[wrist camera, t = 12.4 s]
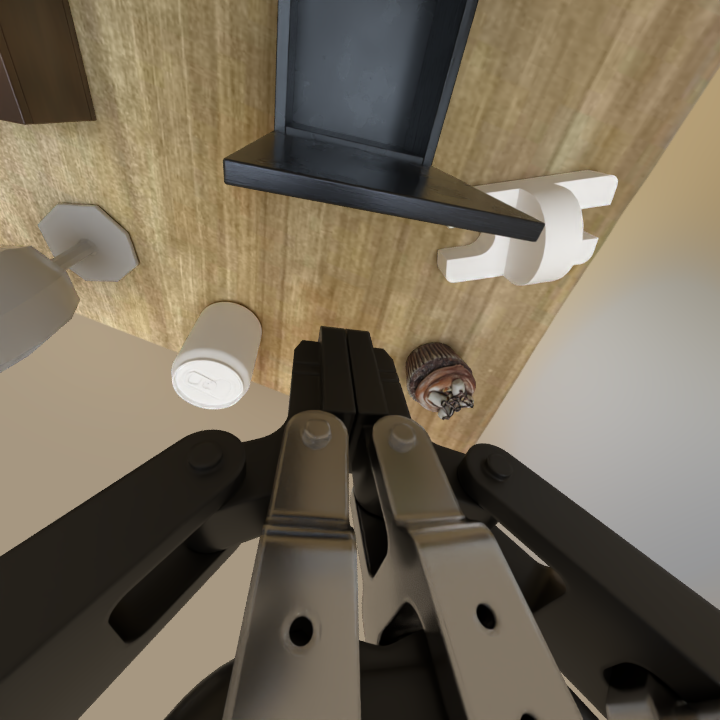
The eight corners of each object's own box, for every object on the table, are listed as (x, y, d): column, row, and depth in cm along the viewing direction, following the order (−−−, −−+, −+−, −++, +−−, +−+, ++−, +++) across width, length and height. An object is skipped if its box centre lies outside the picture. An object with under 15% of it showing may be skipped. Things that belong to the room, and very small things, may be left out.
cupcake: (436, 326, 47) (460, 369, 39) (470, 359, 52) (498, 404, 44) (388, 364, 51) (401, 411, 43) (424, 392, 56) (442, 439, 48)
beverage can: (245, 358, 47) (228, 421, 38) (189, 332, 43) (155, 394, 34) (273, 319, 44) (261, 378, 34) (214, 287, 40) (183, 343, 30)
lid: (222, 157, 11) (223, 184, 11) (546, 224, 13) (536, 242, 14) (273, 129, 23) (273, 143, 24) (433, 166, 26) (430, 177, 26)
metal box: (295, -150, 22) (285, -269, 15) (464, -81, 24) (523, -156, 17) (283, 129, 31) (273, 136, 24) (406, 157, 33) (430, 170, 27)
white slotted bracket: (440, 191, 36) (475, 215, 28) (597, 168, 36) (677, 185, 28) (436, 272, 42) (464, 311, 34) (571, 252, 42) (630, 286, 34)
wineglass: (23, 213, 33) (-268, 320, 16) (100, 189, 32) (-122, 274, 16) (88, 289, 38) (-82, 424, 22) (155, 269, 38) (32, 393, 21)
